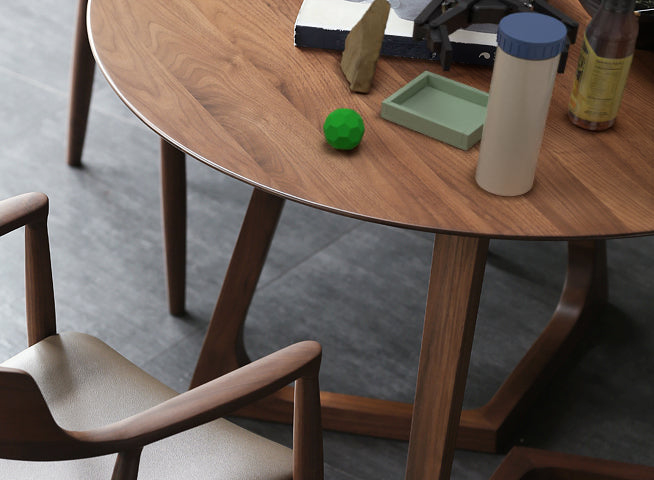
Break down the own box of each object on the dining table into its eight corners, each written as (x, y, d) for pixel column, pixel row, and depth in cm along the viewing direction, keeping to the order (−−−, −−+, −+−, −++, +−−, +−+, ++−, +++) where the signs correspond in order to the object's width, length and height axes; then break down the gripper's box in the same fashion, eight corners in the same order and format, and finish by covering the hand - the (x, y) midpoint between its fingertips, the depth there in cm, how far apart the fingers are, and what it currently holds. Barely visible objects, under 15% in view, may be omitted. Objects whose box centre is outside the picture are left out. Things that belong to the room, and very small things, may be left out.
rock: (385, 87, 137) (418, 47, 143) (349, 30, 134) (385, -9, 139) (326, 111, 146) (360, 72, 151) (291, 58, 142) (327, 19, 147)
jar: (543, 177, 127) (575, 29, 115) (515, 203, 123) (546, 52, 111) (492, 158, 130) (519, 11, 118) (464, 182, 126) (488, 33, 114)
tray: (508, 116, 138) (511, 101, 136) (466, 151, 131) (468, 135, 130) (424, 85, 143) (426, 70, 141) (380, 117, 137) (381, 101, 135)
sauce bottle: (575, 103, 140) (610, -48, 127) (622, 117, 138) (662, -36, 125) (557, 125, 136) (591, -29, 123) (605, 139, 134) (645, -16, 120)
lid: (576, 42, 116) (579, 26, 114) (542, 66, 111) (546, 49, 110) (517, 22, 119) (520, 6, 117) (483, 45, 115) (485, 28, 113)
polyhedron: (354, 161, 129) (357, 126, 126) (316, 151, 130) (318, 116, 127) (368, 141, 132) (371, 106, 129) (331, 132, 134) (333, 97, 131)
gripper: (568, 13, 145) (603, 92, 129) (382, 10, 144) (396, 89, 129) (579, -42, 139) (618, 33, 124) (387, -46, 139) (402, 30, 123)
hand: (505, 62), depth 126 cm, fingers open, 13 cm apart
